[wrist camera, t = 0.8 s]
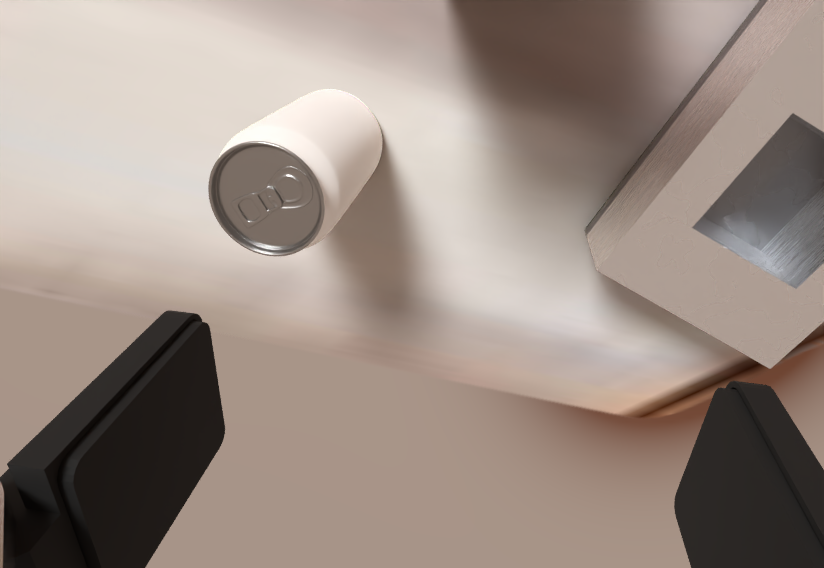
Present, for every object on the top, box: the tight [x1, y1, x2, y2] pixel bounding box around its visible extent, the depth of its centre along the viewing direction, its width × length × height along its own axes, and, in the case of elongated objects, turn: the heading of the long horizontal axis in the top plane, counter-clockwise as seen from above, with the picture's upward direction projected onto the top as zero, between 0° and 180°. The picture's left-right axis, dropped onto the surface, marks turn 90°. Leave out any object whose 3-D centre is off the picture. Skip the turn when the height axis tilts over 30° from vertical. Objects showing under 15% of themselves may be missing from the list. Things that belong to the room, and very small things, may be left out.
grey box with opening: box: [585, 0, 824, 369], centre depth 31 cm, size 16×12×6 cm
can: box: [209, 89, 382, 256], centre depth 32 cm, size 6×6×12 cm
